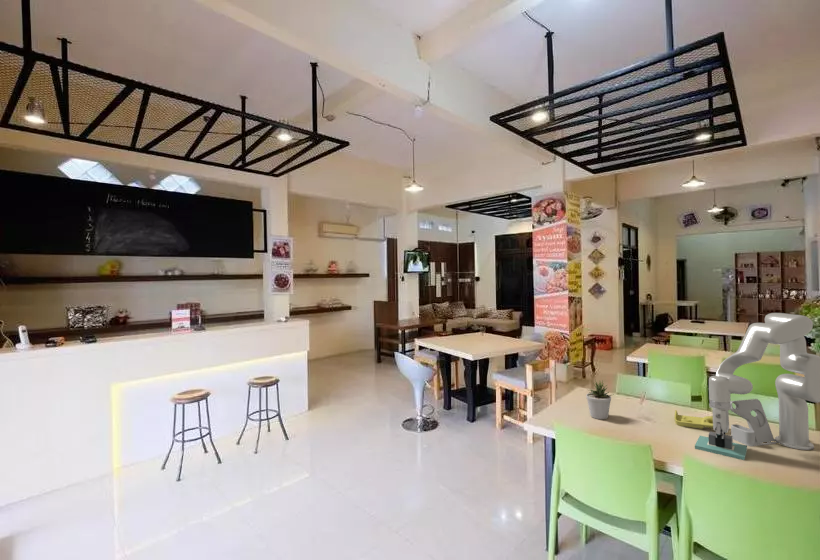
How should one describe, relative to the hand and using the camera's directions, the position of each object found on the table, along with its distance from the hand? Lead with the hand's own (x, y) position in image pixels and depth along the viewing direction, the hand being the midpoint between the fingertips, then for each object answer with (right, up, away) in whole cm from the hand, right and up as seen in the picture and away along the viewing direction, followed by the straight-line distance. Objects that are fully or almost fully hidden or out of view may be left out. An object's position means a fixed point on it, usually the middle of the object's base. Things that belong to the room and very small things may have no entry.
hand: (720, 444), depth 174 cm
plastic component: (+9, -2, +25) cm, 27 cm away
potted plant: (-33, -3, +42) cm, 54 cm away
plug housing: (0, 0, 0) cm, 0 cm away
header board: (0, -2, 0) cm, 2 cm away
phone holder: (+22, -2, +7) cm, 23 cm away
